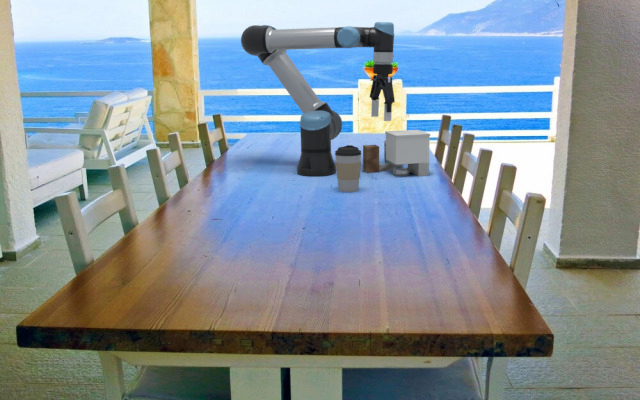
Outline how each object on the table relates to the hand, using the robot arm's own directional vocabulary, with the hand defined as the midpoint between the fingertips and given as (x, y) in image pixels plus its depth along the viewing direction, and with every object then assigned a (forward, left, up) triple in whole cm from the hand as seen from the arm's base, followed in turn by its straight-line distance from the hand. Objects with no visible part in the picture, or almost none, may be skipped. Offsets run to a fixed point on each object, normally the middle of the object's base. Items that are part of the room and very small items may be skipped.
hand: (381, 118), depth 269 cm
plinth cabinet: (+6, -13, -20) cm, 25 cm away
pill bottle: (+6, +2, -20) cm, 21 cm away
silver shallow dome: (+4, -14, -20) cm, 25 cm away
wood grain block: (-1, -4, -20) cm, 20 cm away
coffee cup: (-23, -34, -20) cm, 46 cm away
